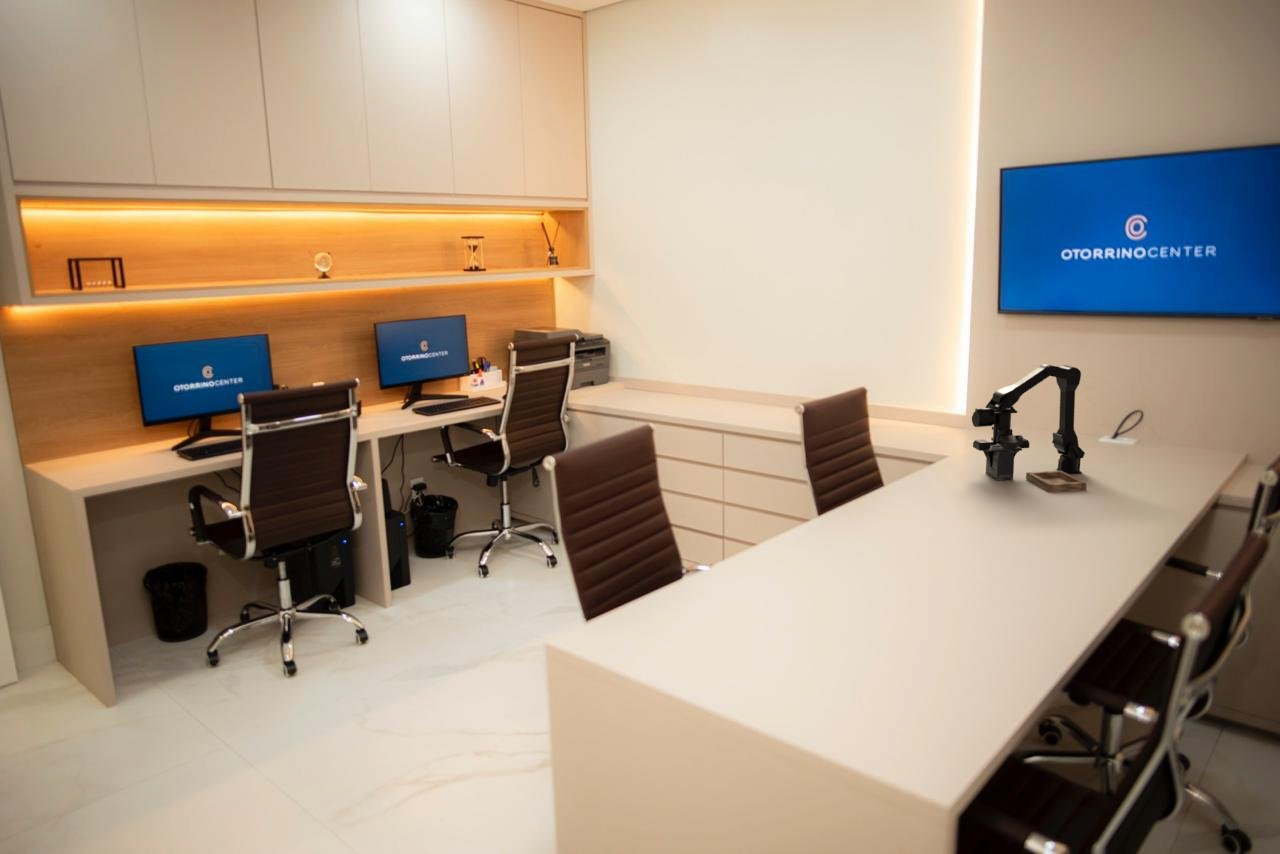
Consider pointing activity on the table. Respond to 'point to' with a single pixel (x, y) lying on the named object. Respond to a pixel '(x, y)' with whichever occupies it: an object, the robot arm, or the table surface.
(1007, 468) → the small box
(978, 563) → the table surface
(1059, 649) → the table surface
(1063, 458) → the robot arm
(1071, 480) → the walnut holder
